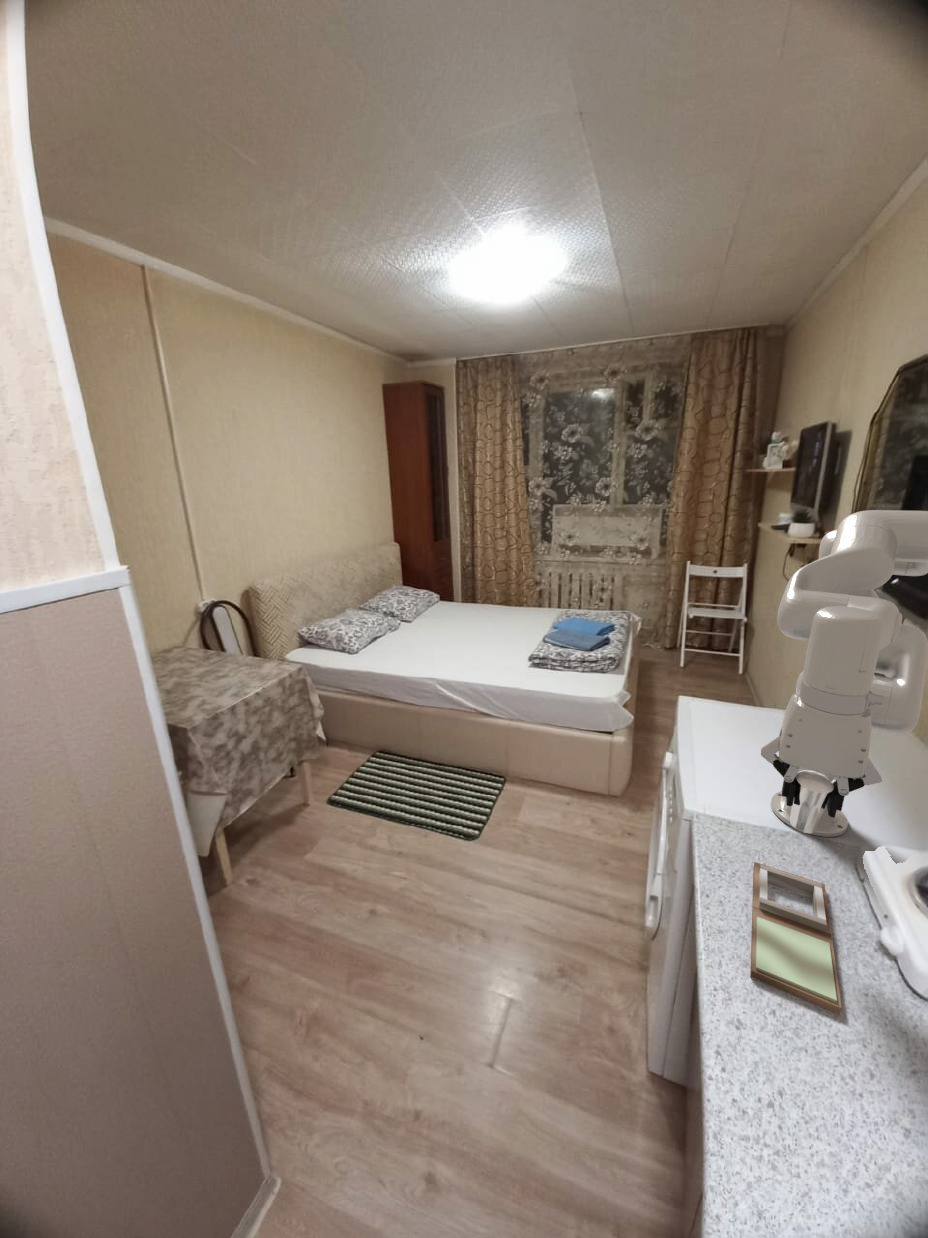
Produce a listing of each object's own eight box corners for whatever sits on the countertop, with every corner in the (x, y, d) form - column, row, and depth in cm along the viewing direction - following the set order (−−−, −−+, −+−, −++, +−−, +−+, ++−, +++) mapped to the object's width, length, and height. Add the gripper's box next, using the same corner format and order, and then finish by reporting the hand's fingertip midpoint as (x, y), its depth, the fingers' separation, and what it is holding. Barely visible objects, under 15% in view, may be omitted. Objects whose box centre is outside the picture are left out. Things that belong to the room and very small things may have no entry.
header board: (753, 867, 85) (755, 856, 84) (823, 890, 80) (826, 878, 80) (750, 977, 67) (752, 963, 67) (839, 1015, 62) (843, 1001, 62)
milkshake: (832, 839, 71) (850, 783, 68) (792, 834, 72) (807, 778, 69) (817, 818, 75) (833, 763, 72) (779, 813, 76) (793, 759, 73)
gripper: (906, 697, 66) (877, 809, 71) (761, 675, 74) (745, 776, 80) (920, 722, 60) (887, 842, 65) (760, 695, 68) (743, 803, 74)
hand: (809, 805), depth 72 cm, fingers closed on milkshake, 4 cm apart
